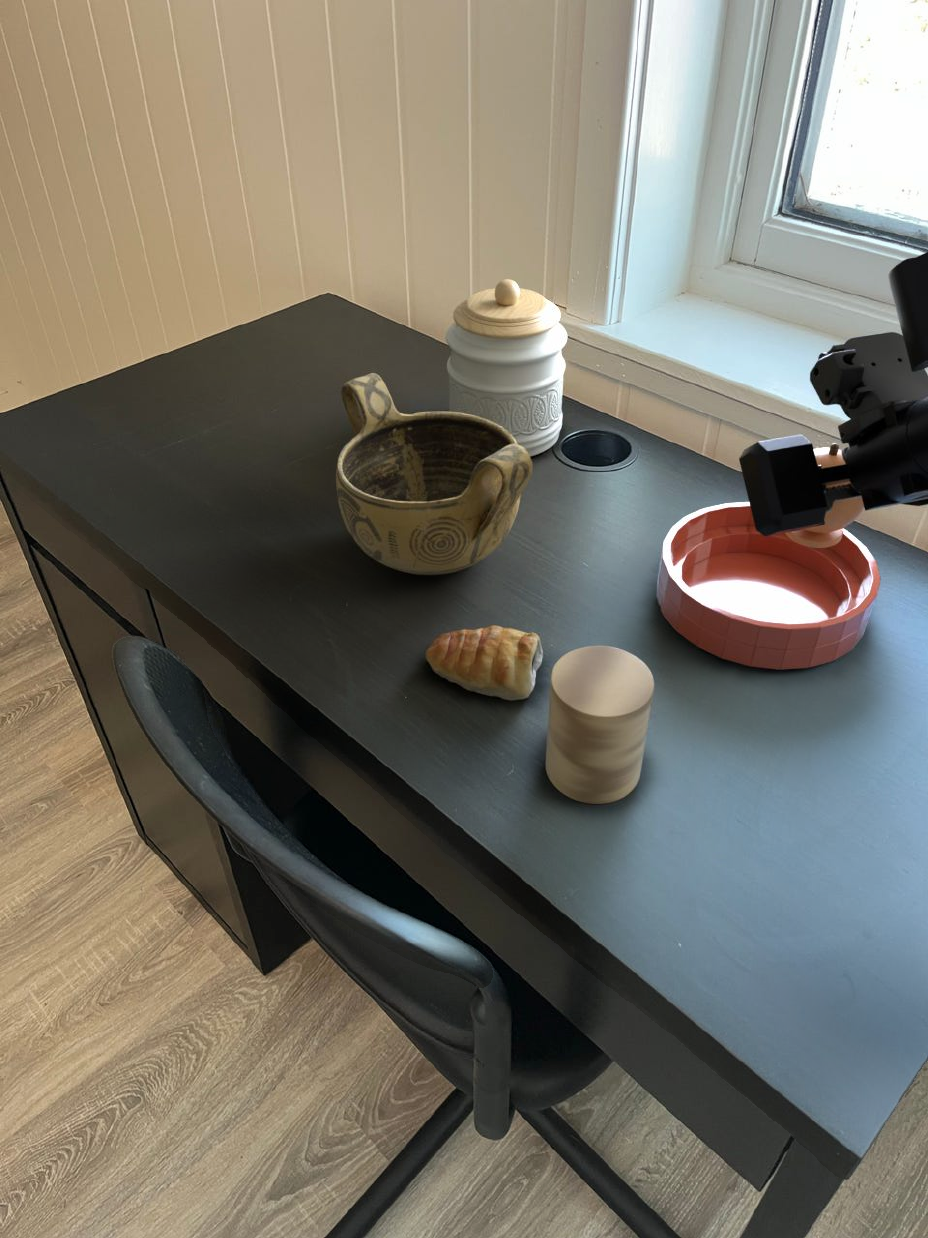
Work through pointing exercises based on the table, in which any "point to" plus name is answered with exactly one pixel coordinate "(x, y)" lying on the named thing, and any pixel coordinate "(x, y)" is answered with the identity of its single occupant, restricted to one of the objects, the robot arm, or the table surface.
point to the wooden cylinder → (597, 723)
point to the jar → (509, 363)
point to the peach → (839, 514)
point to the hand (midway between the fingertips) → (809, 496)
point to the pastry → (488, 660)
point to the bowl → (763, 591)
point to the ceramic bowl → (426, 482)
